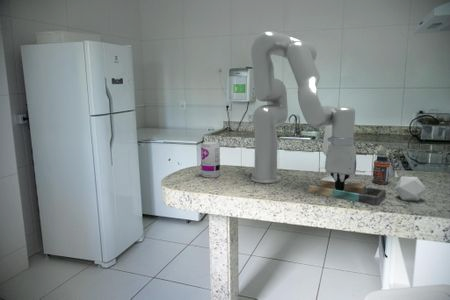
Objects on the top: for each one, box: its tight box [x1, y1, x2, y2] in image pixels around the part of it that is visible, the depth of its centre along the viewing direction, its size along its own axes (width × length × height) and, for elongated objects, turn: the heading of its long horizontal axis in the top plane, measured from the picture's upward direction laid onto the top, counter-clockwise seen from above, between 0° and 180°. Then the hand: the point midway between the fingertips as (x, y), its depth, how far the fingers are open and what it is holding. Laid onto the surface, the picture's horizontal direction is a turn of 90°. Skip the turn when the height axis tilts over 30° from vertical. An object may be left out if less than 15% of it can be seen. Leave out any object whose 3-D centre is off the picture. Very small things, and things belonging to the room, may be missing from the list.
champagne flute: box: [321, 125, 335, 182], centre depth 136 cm, size 7×7×24 cm
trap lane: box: [308, 178, 387, 206], centre depth 119 cm, size 24×11×2 cm, turn 52°
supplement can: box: [200, 141, 221, 179], centre depth 146 cm, size 8×8×15 cm
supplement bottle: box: [371, 154, 391, 185], centre depth 133 cm, size 6×6×11 cm
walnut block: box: [343, 181, 367, 195], centre depth 118 cm, size 6×6×4 cm
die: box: [394, 176, 427, 202], centre depth 113 cm, size 8×9×10 cm
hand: (339, 190), depth 121 cm, fingers closed
